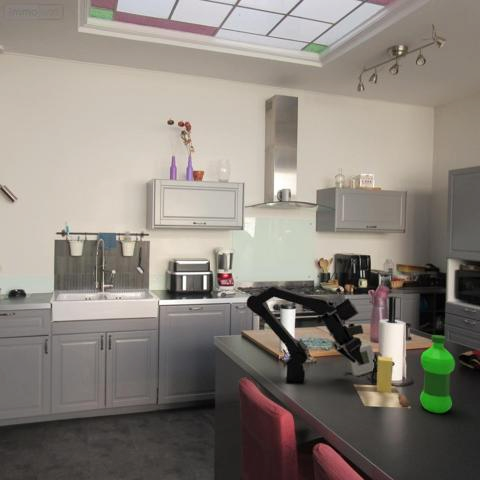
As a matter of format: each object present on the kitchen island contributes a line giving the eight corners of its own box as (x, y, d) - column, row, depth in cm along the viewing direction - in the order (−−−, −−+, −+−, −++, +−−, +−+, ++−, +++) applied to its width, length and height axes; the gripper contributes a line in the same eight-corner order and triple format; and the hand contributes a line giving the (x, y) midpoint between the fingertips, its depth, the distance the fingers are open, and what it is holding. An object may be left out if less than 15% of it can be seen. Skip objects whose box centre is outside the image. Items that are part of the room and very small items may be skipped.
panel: (364, 408, 164) (364, 405, 164) (353, 386, 185) (353, 384, 185) (410, 410, 164) (410, 408, 164) (394, 388, 185) (394, 386, 185)
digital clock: (353, 378, 195) (354, 351, 195) (338, 371, 203) (339, 346, 203) (383, 372, 204) (384, 347, 203) (367, 366, 211) (368, 342, 211)
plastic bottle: (449, 420, 156) (453, 342, 155) (415, 412, 162) (418, 337, 161) (455, 410, 165) (458, 336, 163) (422, 403, 170) (425, 331, 169)
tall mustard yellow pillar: (376, 391, 179) (377, 359, 178) (376, 386, 183) (378, 356, 183) (391, 393, 177) (392, 361, 177) (391, 388, 182) (392, 357, 181)
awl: (402, 407, 164) (402, 399, 164) (394, 396, 174) (394, 389, 174) (409, 407, 164) (409, 400, 164) (401, 396, 174) (401, 389, 174)
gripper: (360, 315, 177) (385, 352, 176) (345, 315, 196) (367, 349, 194) (335, 332, 175) (360, 370, 174) (322, 331, 194) (344, 365, 192)
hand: (358, 363), depth 184 cm, fingers open, 9 cm apart
